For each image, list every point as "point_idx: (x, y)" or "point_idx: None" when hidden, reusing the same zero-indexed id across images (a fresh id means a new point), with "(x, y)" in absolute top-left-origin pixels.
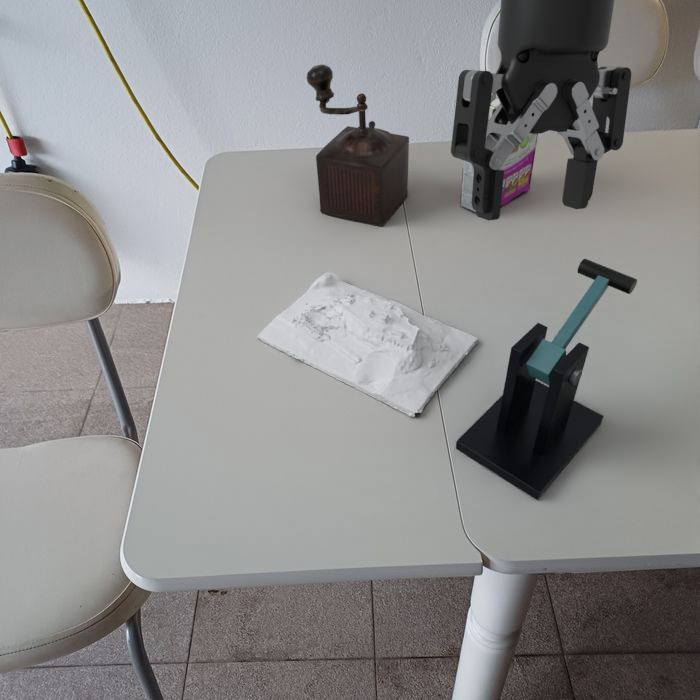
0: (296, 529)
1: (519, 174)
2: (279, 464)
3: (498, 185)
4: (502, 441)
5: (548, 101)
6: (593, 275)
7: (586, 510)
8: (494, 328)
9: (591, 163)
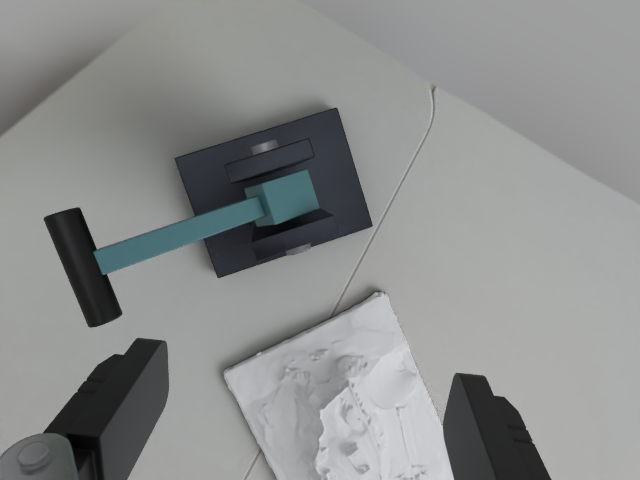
0: (576, 221)
1: None
2: (551, 308)
3: (499, 443)
4: (324, 194)
5: None
6: (107, 282)
7: (293, 67)
8: (181, 383)
9: (81, 431)
